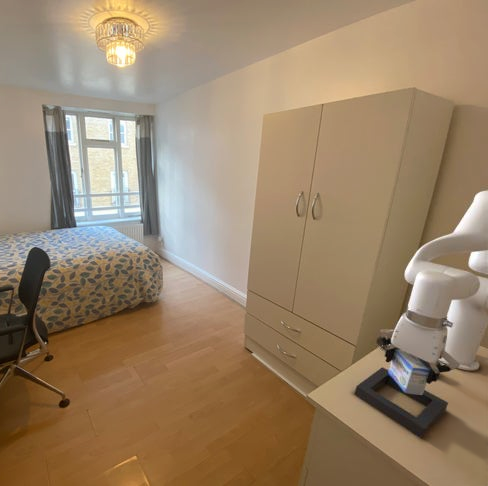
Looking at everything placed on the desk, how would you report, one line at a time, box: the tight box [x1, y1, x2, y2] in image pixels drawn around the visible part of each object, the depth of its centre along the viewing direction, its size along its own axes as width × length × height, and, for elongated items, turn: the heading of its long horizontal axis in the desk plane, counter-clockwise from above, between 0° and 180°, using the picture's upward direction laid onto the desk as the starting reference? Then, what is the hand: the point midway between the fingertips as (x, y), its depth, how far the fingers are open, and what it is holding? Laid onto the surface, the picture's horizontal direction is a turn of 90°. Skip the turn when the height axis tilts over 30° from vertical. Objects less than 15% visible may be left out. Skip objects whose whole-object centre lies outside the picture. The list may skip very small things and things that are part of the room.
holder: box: [354, 366, 449, 439], centre depth 80 cm, size 16×16×3 cm
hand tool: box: [375, 335, 441, 375], centre depth 98 cm, size 19×4×5 cm, turn 21°
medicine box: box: [388, 350, 430, 395], centre depth 78 cm, size 8×4×9 cm, turn 171°
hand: (408, 370), depth 77 cm, fingers closed on medicine box, 8 cm apart
